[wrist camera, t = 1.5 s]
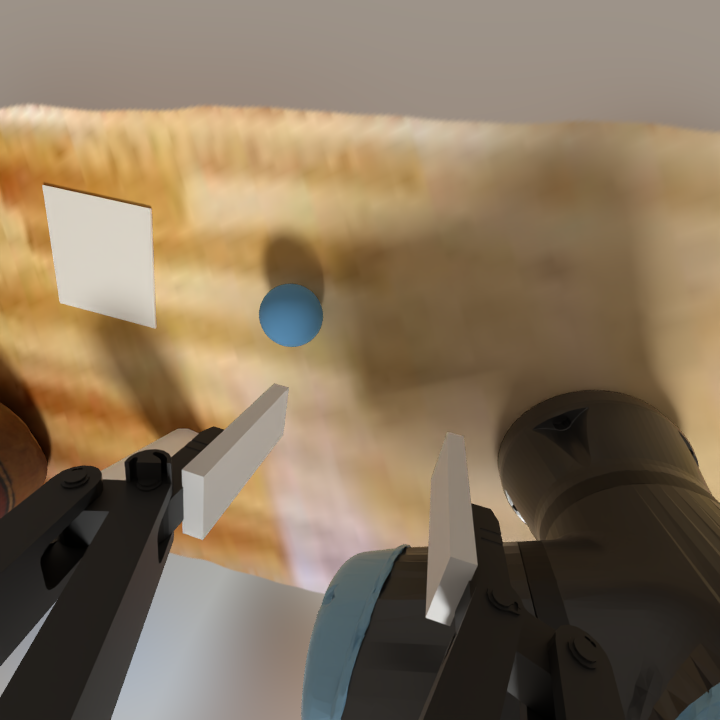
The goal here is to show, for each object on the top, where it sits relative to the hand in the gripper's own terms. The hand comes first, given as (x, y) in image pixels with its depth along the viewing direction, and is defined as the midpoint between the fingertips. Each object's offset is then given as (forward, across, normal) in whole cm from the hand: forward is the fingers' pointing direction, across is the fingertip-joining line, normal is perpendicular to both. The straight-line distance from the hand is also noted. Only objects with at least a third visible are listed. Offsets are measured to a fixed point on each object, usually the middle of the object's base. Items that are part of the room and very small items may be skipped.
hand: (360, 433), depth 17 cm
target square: (+17, +32, 0) cm, 36 cm away
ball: (+14, +10, 0) cm, 17 cm away
